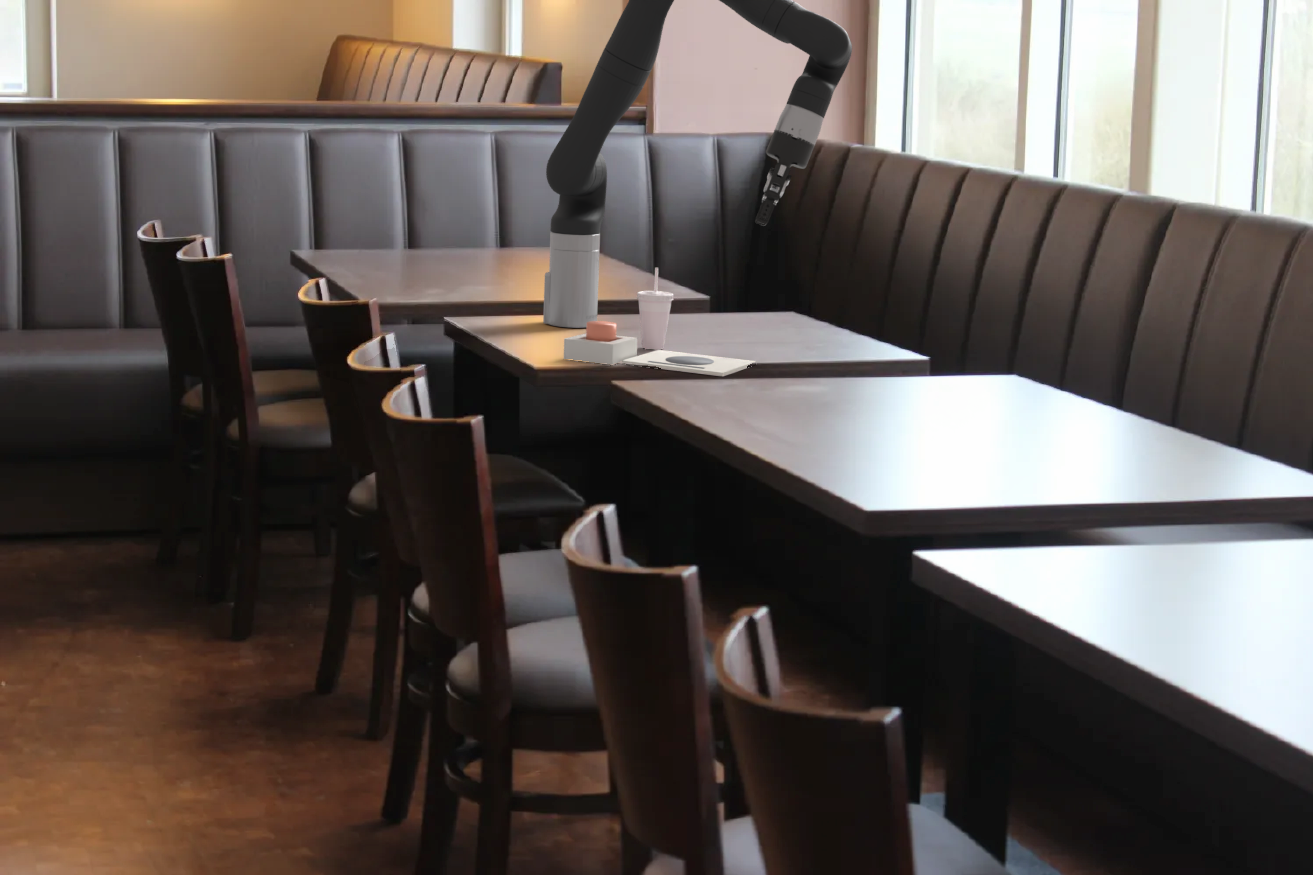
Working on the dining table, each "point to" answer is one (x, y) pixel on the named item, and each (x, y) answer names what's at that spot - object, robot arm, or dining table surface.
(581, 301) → the robot arm
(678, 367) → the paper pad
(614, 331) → the button
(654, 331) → the smoothie
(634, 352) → the button housing
